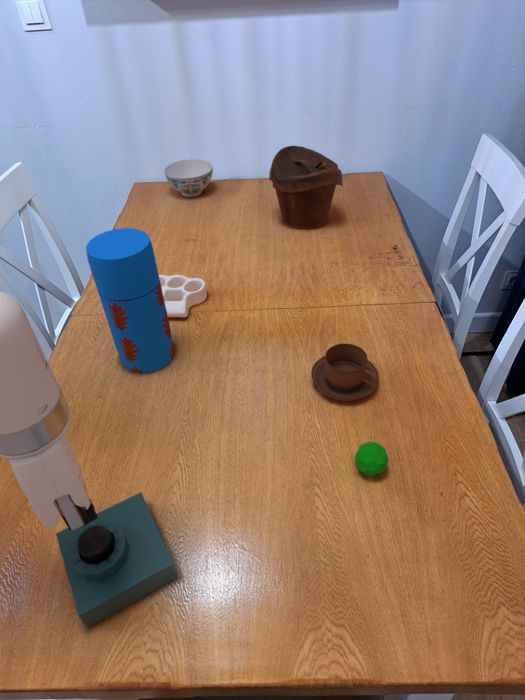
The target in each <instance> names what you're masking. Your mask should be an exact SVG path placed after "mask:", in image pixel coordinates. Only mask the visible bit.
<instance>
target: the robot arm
mask: <svg viewBox="0 0 525 700" xmlns="http://www.w3.org/2000/svg"><path fill="white" fill-rule="evenodd" d="M71 421H72V411H71V409H70V406H69V405H68V402H67V400H66V398H65V396H64V393H63V391H62V389H61V387H60V385H59V383H58V381H57V379H56V376H55V375H54V372H53V370H52V368H51V366H50V364H49V361H48V360H47V357H46V355H45V353H44V351H43V348H42V347H41V344H40V341H39V339H38V338H37V335H36V333H35V330H34V329H33V327H32V324H31V323H30V321H29V318H28V315H27V314H26V312H25V310H24V308H23V307H22V305H21V304H20V302H19V301H18V299H16V298H15V297H14V296H12V295H11V294H9V293H7V292H5V291H2V290H0V458H2V459H6V460H8V463H9V466H10V468H11V469H12V472H13V474H14V476H15V479H16V481H17V482H18V485H19V486H20V488H21V490H22V492H23V493H24V495H25V497H26V499H27V500H28V502H29V504H30V505H31V507H32V509H33V511H34V513H35V514H36V516H37V518H38V519H39V521H40V523H41V525H42V526H43V527H44V528H46V529H51V528H53V527H56V526H58V521H59V515H60V517H61V518H62V520H63V522H64V523H65V525H66V527H67V528H69V529H70V531H74V530H76V529H78V528H82V527H84V526H86V525H87V524H89V523H90V522H92V521H94V520H96V519H97V511H96V508H95V506H94V503H93V502H92V500H91V498H90V495H89V492H88V489H87V485H86V482H85V478H84V475H83V472H82V468H81V466H80V462H79V460H78V457H77V454H76V452H75V449H74V446H73V444H72V442H71V439H70V437H69V434H68V433H67V431H68V429H69V427H70V426H71V425H70V424H71Z"/></svg>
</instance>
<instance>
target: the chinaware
mask: <svg viewBox="0 0 525 700" xmlns="http://www.w3.org/2000/svg"><path fill="white" fill-rule="evenodd" d="M213 172H214V165H213V164H212V163H211V162H210V161H208V160H205V159H199V158H190V159H189V158H188V159H180V160H177V161H174V162H172V163H168V164H167V166H165V167H164V169H163V174H164V175H165V178H166V180H167V182H168V184H169V185H170V186H171V187H172V188H173V189H174V190H175V191H178V192H179V193H181V195H182V197H187V198H194V197H198V196H200V195H201V194H202V193H203V190H205V188H207V187H208V186H209V184H210V182H211V180H212V177H213Z"/></svg>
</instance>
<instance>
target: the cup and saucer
mask: <svg viewBox="0 0 525 700" xmlns="http://www.w3.org/2000/svg"><path fill="white" fill-rule="evenodd" d="M310 374H311V376H310V377H311V380H312V383H313V385H314V386H315V388H316V389H317V390H318V391H319V392H320V393H322V394H323V395H325V396H326V397H328V398H331V399H333V400H337V401H346V402H347V401H357V400H361V399H364V398H365V397H367V396H369V395H370V394H372V393H373V392H374V390H375V389H376V387H378V383H379V378H380V376H379V371H378V369H377V367H376V366H375V365H374V364H373V363H372V362H371V361H370V360H369V358H368V354H367V353H366V351H365V350H364V349H363V348H362V347H360V346H358V345H356V344H354V343H337V344H334V345H332V346H330V347H328V349H327V350H326V351H325V355H323V356H321V357H320V358H318V359H317V360H316V361H315V363H314V364H313V366H312V368H311V373H310Z"/></svg>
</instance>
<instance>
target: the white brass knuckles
mask: <svg viewBox="0 0 525 700" xmlns="http://www.w3.org/2000/svg"><path fill="white" fill-rule="evenodd" d="M159 279H160V283H161V288H162V292H163V297H164V302H165V306H166V311H167V315H168V318H187V317H188V315H189V310H190V308H191V307H192V306H196V305H199V304H202V303H203V302H205V301H206V299H207V297H208V292H207V286H206V285H207V284H206V282H205V280H204V279H202V278H200V277H194V278H193V277H187V276H185V275H182V274H173V275H164V274H159Z"/></svg>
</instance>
